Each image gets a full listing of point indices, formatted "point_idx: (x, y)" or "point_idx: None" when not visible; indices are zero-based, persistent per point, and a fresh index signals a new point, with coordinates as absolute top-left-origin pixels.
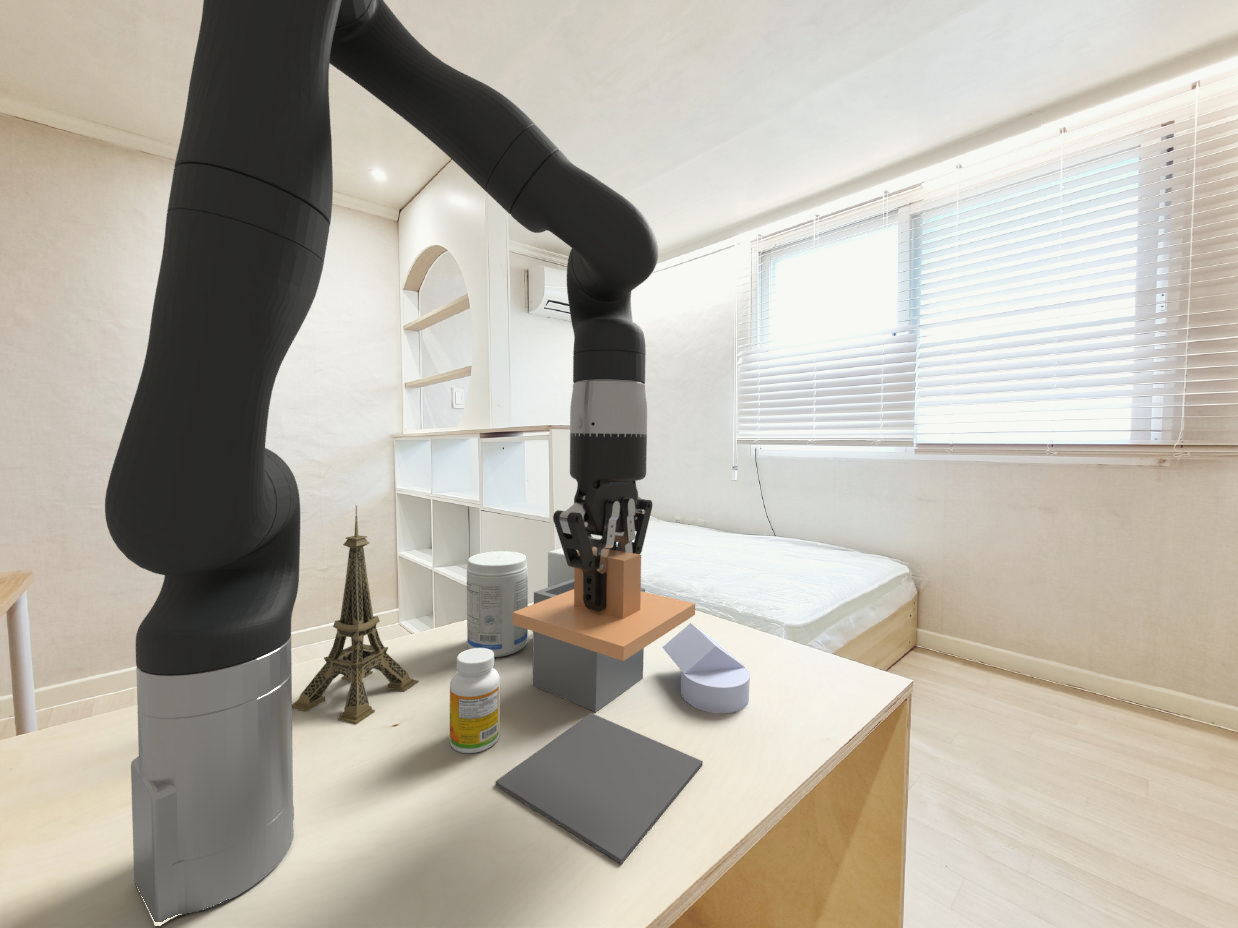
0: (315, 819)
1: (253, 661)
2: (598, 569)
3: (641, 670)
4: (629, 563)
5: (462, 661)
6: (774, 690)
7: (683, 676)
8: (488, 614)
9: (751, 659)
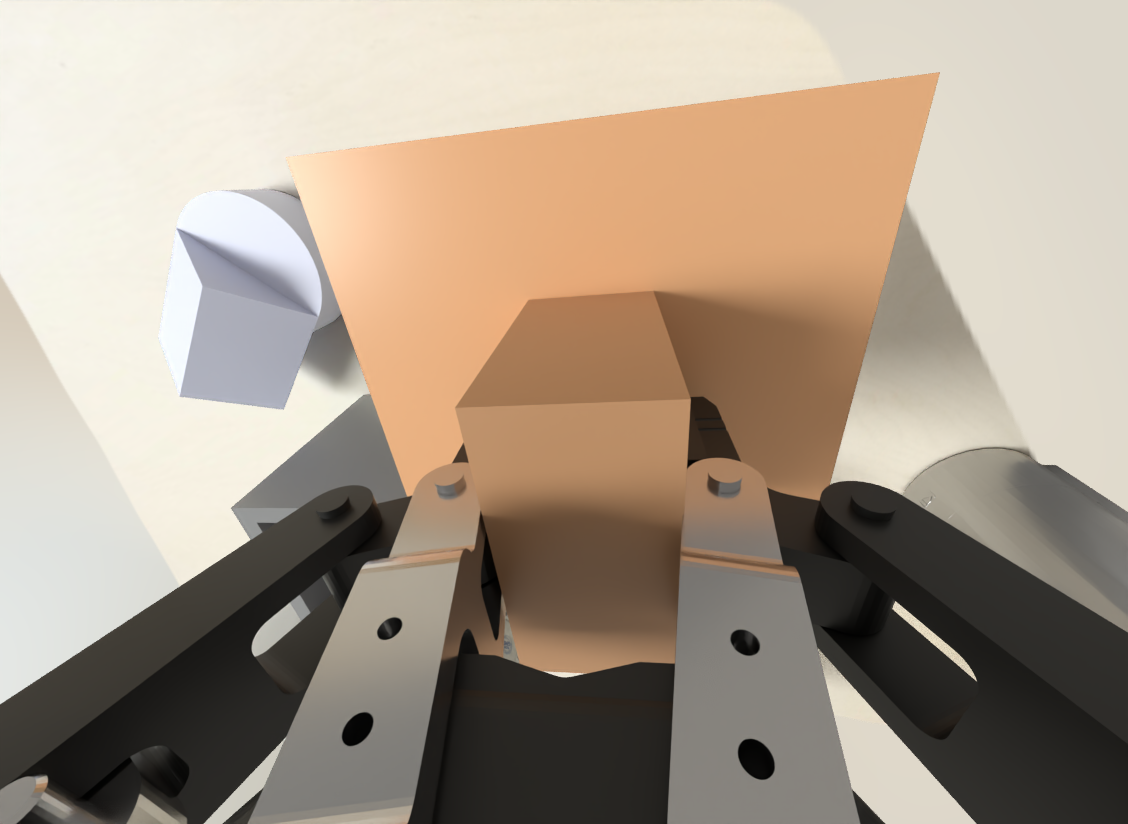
0: (879, 485)
1: None
2: (763, 479)
3: (360, 402)
4: (614, 385)
5: None
6: (160, 169)
7: (322, 316)
8: (505, 655)
9: (119, 275)
